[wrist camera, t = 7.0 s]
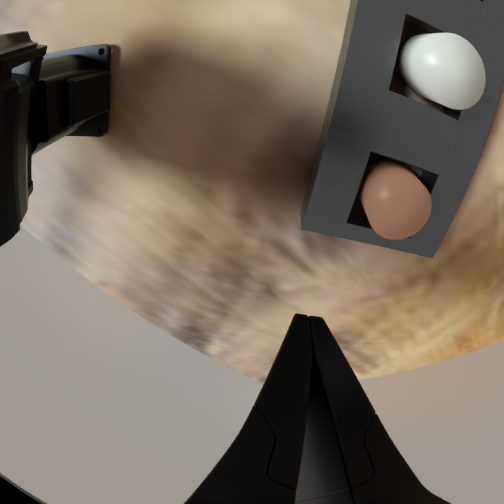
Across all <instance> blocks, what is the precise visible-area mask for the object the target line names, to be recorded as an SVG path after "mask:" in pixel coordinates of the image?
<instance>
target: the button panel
mask: <svg viewBox="0 0 504 504" xmlns="http://www.w3.org/2000/svg"><path fill="white" fill-rule="evenodd" d="M404 22H406V23H409V24H411V25H413V26H415V27H418V28H420V29H422V30H424V31H426V32H428V33H453V34H456V35H459V36H461V37H463V38H464V39H466V40H467V41H468V42H469V43H471V44H472V46H473V47H474V48H475V49H476V50H477V52H478V54H479V55H480V57H481V59H482V62H483V65H484V69H485V75H486V81H485V88H484V91H483V94H482V96H481V98H480V99H479V101H478V102H477V103H476V104H475V105H473V106H472V107H470V108H467V109H463V110H456V109H451V108H449V107H446V106H445V109H444V112H443V113H442V112H440V111H438V110H435V109H433V108H431V107H429V106H427V105H424V104H422V103H420V102H417V101H415V100H413V99H410V98H408V97H405V96H403V95H400V94H397V93H395V92H392V91H389V86H390V82H391V78H392V74H393V70H394V66H395V62H396V58H397V53H398V49H399V44H400V39H401V35H402V30H403V25H404ZM503 80H504V0H351V3H350V8H349V13H348V18H347V23H346V28H345V33H344V38H343V42H342V47H341V52H340V56H339V61H338V65H337V70H336V74H335V79H334V83H333V87H332V92H331V96H330V100H329V105H328V109H327V113H326V117H325V121H324V125H323V129H322V133H321V137H320V141H319V145H318V149H317V153H316V157H315V161H314V165H313V168H312V172H311V176H310V180H309V184H308V187H307V191H306V195H305V198H304V202H303V206H302V209H301V213H300V215H301V229H302V230H307V231H312V232H317V233H321V234H326V235H331V236H336V237H341V238H345V239H350V240H355V241H359V242H364V243H368V244H373V245H378V246H382V247H386V248H391V249H395V250H400V251H404V252H408V253H413V254H417V255H421V256H425V257H429V258H433V256H434V254H435V252H436V251H437V249H438V247H439V245H440V243H441V241H442V240H443V238H444V236H445V234H446V232H447V230H448V228H449V226H450V224H451V222H452V220H453V218H454V216H455V214H456V212H457V210H458V208H459V206H460V204H461V201H462V199H463V197H464V195H465V193H466V190H467V188H468V186H469V183H470V181H471V179H472V176H473V174H474V171H475V169H476V166H477V164H478V161H479V159H480V156H481V153H482V151H483V148H484V145H485V142H486V139H487V136H488V134H489V130H490V127H491V124H492V121H493V118H494V114H495V111H496V107H497V104H498V100H499V96H500V92H501V88H502V84H503ZM370 152H374V153H377V154H380V155H384V156H387V157H390V158H393V159H396V160H399V161H402V162H405V163H408V164H411V165H413V166H416V167H419V168H422V169H424V171H423V173H422V176H421V178H420V182H421V183H422V184H423V185H424V186H425V187H426V189H427V190H428V192H429V194H430V197H431V202H432V208H431V213H430V216H429V218H428V220H427V222H426V224H425V225H424V226H423V227H422V229H420V230H419V231H418V232H417V233H416V234H414V235H412V236H410V237H408V238H405V239H400V240H391V239H387V238H384V237H382V236H380V235H378V234H377V233H376V232H375V231H374V230H373V228H372V226H371V224H370V222H369V220H368V217H367V215H366V213H362V212H358V211H354V210H351V208H352V206H353V203H354V200H355V197H356V194H357V192H358V189H359V186H360V183H361V180H362V177H363V174H364V171H365V168H366V165H367V162H368V159H369V156H370Z"/></svg>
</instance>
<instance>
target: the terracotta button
mask: <svg viewBox="0 0 504 504" xmlns="http://www.w3.org/2000/svg"><path fill="white" fill-rule="evenodd" d="M358 196H359V199H360V201H361V203H362V206H363V208H364V210H365V213H366V215H367V217H368V220H369V222H370V224H371V226H372V228H373V230H374V231H375V232H376V233H377V234H378V235H380V236H382V237H384V238H387V239H391V240H400V239H405V238H408V237H410V236H412V235H414V234H416V233H417V232H418V231H419V230H420V229H422V227H423V226H424V225H425V224H426V222H427V220H428V218H429V216H430V213H431V208H432V202H431V197H430V194H429V192H428V190H427V189H426V187H425V186H424V185H423V184H422V183H421V182H420V181H419V179H418V178H417V177H416V176H415V175H414V174H413V173H412V172H411V171H410V169H409V168H408V167H407V166H406V165H404V164H403V163H402V162H400V161H397V160H394V159H383V160H379V161H376V162H374V163H372V164H371V165H370V166H368V167H367V168H366V169H365V171H364V174H363V177H362V180H361V183H360V186H359V189H358Z"/></svg>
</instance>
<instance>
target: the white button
mask: <svg viewBox="0 0 504 504" xmlns="http://www.w3.org/2000/svg"><path fill="white" fill-rule="evenodd" d="M399 67H400V71H401V74H402V77H403V79H404V81H405V82H406V84H407V85H408V86H409V87H410V88H411V90H413V91H414V92H415V93H416V94H418V95H420V96H422V97H424V98H427V99H429V100H432V101H434V102H437V103H439V104H442V105H444V106H446V107H449V108H451V109H456V110H463V109H467V108H470V107H472V106H473V105H475V104H476V103H477V102H478V101H479V99H480V98H481V96H482V94H483V91H484V88H485V81H486V75H485V69H484V65H483V62H482V59H481V57H480V55H479V54H478V52H477V50H476V49H475V48H474V47H473V46H472V44H471V43H469V42H468V41H467V40H466V39H464V38H463V37H461V36H459V35H456V34H453V33H430V34H419V35H415V36H412V37H410V38H409V39H408V40H406V42H405V43H404V44H403V46H402V48H401V50H400V53H399Z"/></svg>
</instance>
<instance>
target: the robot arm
mask: <svg viewBox="0 0 504 504" xmlns="http://www.w3.org/2000/svg"><path fill="white" fill-rule="evenodd" d="M103 48H104V50H105V52H104V54H102V52H101V51H102V49H103ZM46 50H47V45H38V43H34V42H33V41H31V39H30V36H29V34H28V31H20V32H13V33H7V34H1V35H0V246H2V245H3V244H5V243H6V242H8V241H9V240H10V239H12V237H14V236H15V234H16V233H17V232H18V231H19V230H20V223H21V222H22V220H23V218H24V216H25V214H26V212H27V209H28V198H29V196H30V194H31V193H32V191H33V181H32V180H31V157H32V155H33V154H35V153H37V152H38V151H40V150H42V149H43V148H45V147H47V146H48V145H50V144H52V143H54V142H55V141H57V140H59V139H61V138H63V137H64V136H96V137H101V136H103V135H105V134H106V133H107V132H108V110H109V108H110V78H111V74H110V57H111V47H110V46H109V45H108V44H101V45H93V46H86V47H80V48H74V49H69V50H63V51H58V52H54V53H49V54H46ZM100 127H102V131H101V130H100ZM0 504H46V503H45V502H43V501H41V500H40V499H38V498H36V497H35V496H33V495H32V494H30V493H28V492H27V491H25V490H24V489H22V488H21V487H19V486H18V485H16V484H15V483H13V482H12V481H11V480H9V479H8V478H6V477H5V476H4V475H2V474H1V473H0ZM184 504H451V503H449V502H447V501H445V500H443V499H441V498H440V497H438V496H436V495H434V494H432V493H431V492H430V491H428V490H427V489H426V488H425V487H424V486H423V485H422V484H421V482H420V481H419V480H418V478H417V477H416V476H415V474H414V473H413V471H412V470H411V468H410V467H409V465H408V464H407V462H406V461H405V460H404V458H403V457H402V455H401V454H400V452H399V451H398V449H397V448H396V446H395V445H394V443H393V441H392V440H391V438H390V437H389V435H388V433H387V432H386V430H385V428H384V426H383V425H382V423H381V421H380V419H379V417H378V415H377V414H375V410H374V408H373V406H372V404H371V403H370V401H369V399H368V397H367V395H366V394H365V392H364V390H363V388H362V386H361V384H360V383H359V381H358V379H357V377H356V375H355V374H354V372H353V370H352V368H351V366H350V365H349V363H348V361H347V359H346V358H345V356H344V354H343V352H342V350H341V349H340V347H339V345H338V343H337V342H336V340H335V338H334V336H333V335H332V333H331V331H330V329H329V328H328V326H327V324H326V323H325V321H324V319H323V318H322V317H317V316H309V317H308V316H307V315H303V314H295V315H294V317H293V319H292V322H291V324H290V326H289V329H288V331H287V333H286V336H285V338H284V340H283V343H282V345H281V347H280V349H279V352H278V354H277V356H276V358H275V361H274V363H273V365H272V367H271V369H270V372H269V374H268V376H267V378H266V380H265V382H264V385H263V387H262V389H261V391H260V393H259V395H258V397H257V399H256V402H255V404H254V406H253V407H252V410H251V412H250V414H249V416H248V418H247V420H246V421H245V423H244V425H243V427H242V429H241V430H240V432H239V434H238V435H237V437H236V438H235V440H234V441H233V443H232V444H231V446H230V447H229V449H228V450H227V451H226V453H225V454H224V455H223V457H222V458H221V459H220V460H219V462H218V463H217V464H216V466H215V467H214V468H213V469H212V471H211V472H210V473H209V474H208V476H207V477H206V478H205V480H204V481H203V482H202V483H201V484H200V486H199V487H198V488H197V489H196V490H195V492H194V493H193V494H192V495H191V496H190V497H189V498H188V500H187V501H186V502H185V503H184Z"/></svg>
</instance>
